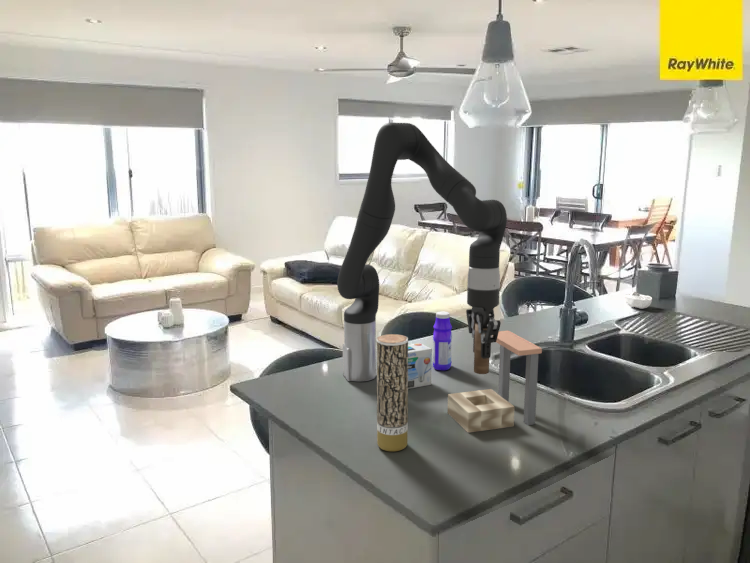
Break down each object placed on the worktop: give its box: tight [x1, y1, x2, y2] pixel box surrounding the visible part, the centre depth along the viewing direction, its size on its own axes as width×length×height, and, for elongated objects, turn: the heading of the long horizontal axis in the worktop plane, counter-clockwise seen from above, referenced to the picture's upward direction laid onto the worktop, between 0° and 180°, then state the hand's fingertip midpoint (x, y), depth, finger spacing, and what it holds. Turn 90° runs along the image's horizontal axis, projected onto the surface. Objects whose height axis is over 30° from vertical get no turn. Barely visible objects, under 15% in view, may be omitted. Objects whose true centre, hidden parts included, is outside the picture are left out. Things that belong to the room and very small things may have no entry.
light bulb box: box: [408, 342, 433, 390], centre depth 174 cm, size 11×7×11 cm, turn 117°
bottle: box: [432, 310, 453, 371], centre depth 187 cm, size 7×6×17 cm
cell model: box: [624, 291, 653, 310], centre depth 261 cm, size 10×12×7 cm
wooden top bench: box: [492, 330, 543, 426], centre depth 153 cm, size 6×16×19 cm, turn 17°
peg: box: [473, 323, 490, 375], centre depth 148 cm, size 4×4×12 cm
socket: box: [447, 388, 515, 433], centre depth 151 cm, size 12×12×5 cm
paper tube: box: [376, 333, 409, 453], centre depth 135 cm, size 7×7×25 cm
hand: (481, 355), depth 148 cm, fingers closed on peg, 3 cm apart
